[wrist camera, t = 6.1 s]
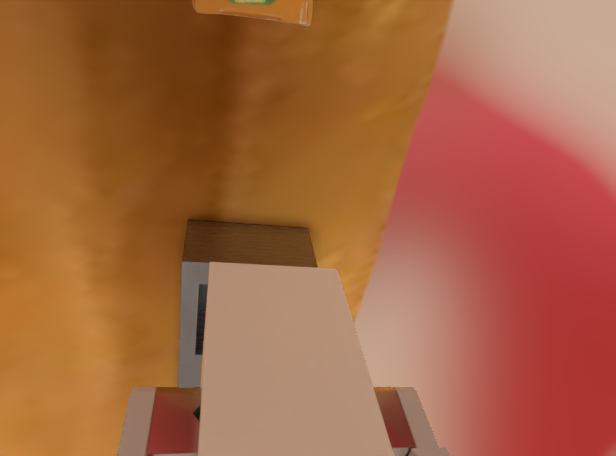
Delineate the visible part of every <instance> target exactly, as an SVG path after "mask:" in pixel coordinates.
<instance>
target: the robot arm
mask: <svg viewBox="0 0 616 456" xmlns="http://www.w3.org/2000/svg"><path fill="white" fill-rule="evenodd" d="M373 388H374V391H375V395H376V398H377V401H378V404H379V408H380V411H381V414H382V417H383V421H384V424H385V427H386V431H387V434H388V437H389V440H390V444H391V447H392V450H393V453H394V456H453V455H452V454H451V453H450V452H449V451H448V450H447V449H446V448H439V446H438V444H437V441H436V439H435V437H434V434H433V432H432V429H431V427H430V424H429V422H428V419H427V417H426V414H425V412H424V409H423V407H422V405H421V402H420V399H419V397H418V394H417V392H416V390H415V389H414V388H413V387H393V388H392V387H373ZM201 390H202V388H173V387H133V388H132V391H131V393H130V397H129V402H128V406H127V411H126V416H125V421H124V425H123V430H122V435H121V440H120V444H119V449H118V454H117V456H197V455H198V439H199V423H200V422H199V418H200V406H201Z"/></svg>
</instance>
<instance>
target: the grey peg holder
mask: <svg viewBox="0 0 616 456" xmlns="http://www.w3.org/2000/svg"><path fill="white" fill-rule="evenodd" d="M210 262H223V263H241V264H259V265H277V266H296V267H314V268H318V267H317V263H316V259H315V255H314V251H313V247H312V243H311V239H310V235H309V231H308V228H297V227H283V226H268V225H254V224H239V223H224V222H210V221H195V220H188V225H187V231H186V238H185V244H184V251H183V258H182V274H181V306H180V338H179V370H178V388H200V387H201V371H202V355H203V342H204V330H205V317H206V304H207V291H208V278H209V265H210Z"/></svg>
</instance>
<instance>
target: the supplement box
mask: <svg viewBox="0 0 616 456" xmlns="http://www.w3.org/2000/svg"><path fill="white" fill-rule="evenodd" d="M192 6H193V8H194V9H195V10H196V12H197V13H200V14H223V15H233V16H241V17H249V18H257V19H265V20H272V21H279V22H285V23H291V24H296V25H300V26H309V25H310V24H311V23H312V13H313V0H192Z"/></svg>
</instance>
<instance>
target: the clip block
mask: <svg viewBox="0 0 616 456" xmlns="http://www.w3.org/2000/svg"><path fill="white" fill-rule="evenodd" d="M200 388H202V390H201V406H200V418H199V422H200V423H199V439H198V455H197V456H394V453H393V450H392V447H391V444H390V440H389V437H388V434H387V431H386V427H385V424H384V421H383V417H382V414H381V411H380V408H379V404H378V401H377V398H376V395H375V391H374V388H373V385H372V382H371V378H370V375H369V372H368V368H367V365H366V362H365V359H364V356H363V352H362V349H361V345H360V342H359V339H358V336H357V332H356V329H355V326H354V323H353V319H352V316H351V313H350V310H349V306H348V303H347V300H346V296H345V293H344V290H343V287H342V283H341V280H340V277H339V274H338V270H337V269H332V268H314V267H296V266H277V265H259V264H241V263H223V262H210V265H209V278H208V291H207V304H206V317H205V330H204V342H203V355H202V371H201V387H200Z"/></svg>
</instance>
